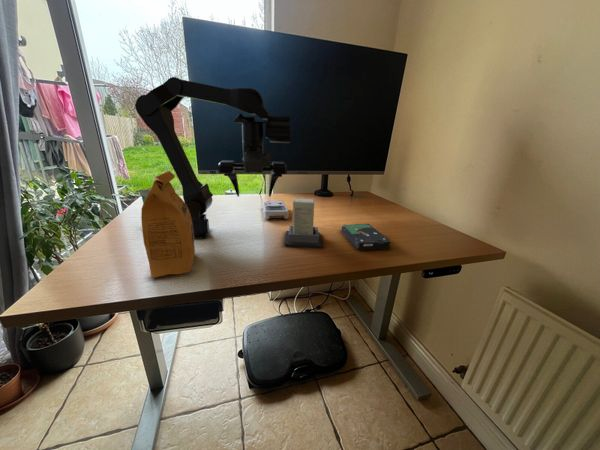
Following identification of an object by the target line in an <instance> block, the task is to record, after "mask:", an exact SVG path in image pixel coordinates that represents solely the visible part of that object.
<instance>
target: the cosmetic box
mask: <svg viewBox="0 0 600 450" xmlns="http://www.w3.org/2000/svg"><path fill="white" fill-rule="evenodd" d="M314 217H315V198H299V197H297V198H294V199H293V201H292V226H293V234H312V235H313V227H314V219H315V218H314Z"/></svg>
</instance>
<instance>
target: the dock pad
mask: <svg viewBox="0 0 600 450" xmlns="http://www.w3.org/2000/svg"><path fill="white" fill-rule="evenodd" d="M284 247H291V248H292V247H293V248H294V247H295V248H311V249H312V248H315V249H322V248H323V245H322V238H321V233H320V232H319V227H318V226H313V235H312V234H293V225H289V227H288V230H286V232H285V240H284Z"/></svg>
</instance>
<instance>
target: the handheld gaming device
mask: <svg viewBox="0 0 600 450" xmlns="http://www.w3.org/2000/svg"><path fill="white" fill-rule="evenodd" d="M262 211H263V217H264V219H265V220H269V219H279V218H280V219H281V218H282V219H283V218H284V219H286V220H287V219H289V213H290V212H289V210H288V208H287V206H286V204H285V202H284V200H266V201H264V202H263V203H262Z"/></svg>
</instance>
